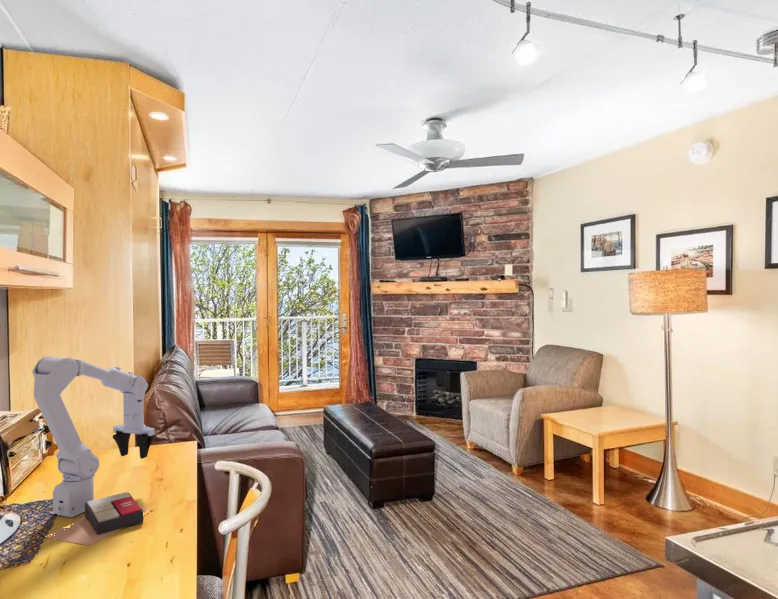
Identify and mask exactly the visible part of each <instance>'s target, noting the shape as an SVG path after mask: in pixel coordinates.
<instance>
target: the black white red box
mask: <svg viewBox="0 0 778 599" xmlns="http://www.w3.org/2000/svg"><path fill="white" fill-rule="evenodd" d="M141 508H142V507H140V505H139V504H138V503H137V501H136V500H135V498H133V496H132V495H131V494H130V492H127V491H125V492H122V493H118V494H114V495H109V496H108V495H107V496H105V497H100V498H96V499H94V500H91V501H88V502H86V503H85V512H84V517H86V518H87V520H89V522H90V523H91V525H92V527H93V529H94V531H95V532H96V534H97V535H99V534H103V533H106V532H110V531H114V530H117V529H120V530H121V528H122V529H124V528H128V527H131V526H134V525H138V523H139V524H141V522H142V523H143V522H144V516H143V510H142V509H141Z"/></svg>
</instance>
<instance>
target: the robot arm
mask: <svg viewBox="0 0 778 599" xmlns="http://www.w3.org/2000/svg"><path fill="white" fill-rule="evenodd" d="M31 372H32V375H33V377H34V382H33V383H34V385H33V398H34V400H35V403H36V404H37V407H38V409H39V411H40V413H41V415H42V417H43V420H44V421H45V423H46V425H47V427H48V429H49V431H50V433H51V436H52V438H53V441H54V442H55V444H56V446H57V448H58V451H57V453H56V455H55V457H56V459H57V470H58V471H59V472H60V473H61V474H62V478H63V480H62V481H61V482H60V483H59V484H57V485H55V486H54V488H53V490H52V511H51V512H50V514H51V513H52V514H51V515H54V514H57V515H56V516H60V515H61V516H62V517H68V518H74V517H76V516H79V515H80V514H83V513H85V503H86V502H88V501H91V500H95V499H94V493H95V492H94V489H95V488H94V477H95V476H96V472H97V471H98V470H99V467H100V458H99V457H98V456H97V455H95V454H93V452H92V451H91V449H90V448H89V447H88V446H87V445H86V444H84V443H83V442H82V440H81V437H80V435H79V433H78V432H77V429H76V427H75V424H74V423H73V420H72V418H71V415H70V414H69V411H68V410H67V408H66V405H65V403H64V401H63V399H62V396H61V394H62V393H63V391H64V390H65V389H66V388H67V387H68V386H69V385H70V384H71V383H72V381H74V379H75V378H76V377H81V376H85V377H89V378H92V379H95V380H100V382H101V384H102V385H103V386H104V387H107V388H110V389H113V390H114V389H115V390H116V391H119V392H120V393H122V394H123V397H122V399H123V400H122V402H123V404H122V405H123V408H122V409H123V414H122V415H123V424H122V425H121V424H117V425H114V426H112V428H113V429H112V433H114V434H112V439H113V440H114V441H115V444H116V445H117V448H118V450H119V454H120V456H121V457H125V456H127V455H128V454H129V444H130V438H131V435H132V434H133V435H139V436H137V437H136V441H137V444H138V448H139V457H140V459H145V458H147V457H148V454H149V450H150V447H151V444H152V442H153V440H154V438H155V437H156V434H155V432H156V430H155V429H156V428H154V427H149V426H146V424H144V422H145V420H144V419H145V418H144V417H145V414H144V412H145V408H144V407H145V404H144V403H145V402H144V401H145V397H146V391H147V390H148V388H149V383H148V382H147V380H146V378H145V377H143V376H142V375H134V373H133V372H132V371H128V372H126V371H123V370H122V368H121V367H119V366H114V367H109V368H107V369H105V368H103V367H100V366H97V365H94V364H92V363H90V362H87V361H84V360H81V359H77V358H76V359H74V358H72V357H56V356H49V355H48V356H47V355H46V356H44V357H42V358H40V359H39V360H38V361H37V362H36V364H35V366H34V367H33V369H32V371H31ZM61 516H60V517H61Z"/></svg>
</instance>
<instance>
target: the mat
mask: <svg viewBox="0 0 778 599" xmlns="http://www.w3.org/2000/svg"><path fill="white" fill-rule="evenodd" d="M140 508H141V509H142V510H143V512H144V513H145V512H146V509H147V510H149V509H150V508H146V507H140ZM73 522H74V524H73V525H72V524H71V523H70V524H71V526H70V528H62V527H61V528H58V529H59V530H58V529H57V530H54V531H55V532H54V531H52V532H50V533H49V534H51V533H52V534H53V535H52V536H51V535H49V536H50V537H49V536H48V534H46V535H47V537H46V538H45V539H47V538H49V540H53V539H56V540H55V541H59V540H61V541H60V542H64V541H66V542H65V543H70V542H71V543H70V544H74V545H75V544H76V545H81V544H82V546H88V547H91V546H93V545H94V544H96V543H98V542H100V541H101V539H102V540H104V539H106V538H107V537H109V536H111V535H112V534H114V533H116V532H117V531H119V530H121V529H117V530H114V531H110V532H106V533H103V534H99V535H97V534H96V532H95V531H94V529H93V527H92V525H91V523H90V522H89V520H87V518H86V517H85V516H83V517H81V518H79V519H77V520H75V521H73ZM64 529H65V530H64ZM54 533H55V534H54ZM54 535H55V536H54ZM92 544H93V545H92ZM90 545H91V546H90Z"/></svg>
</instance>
